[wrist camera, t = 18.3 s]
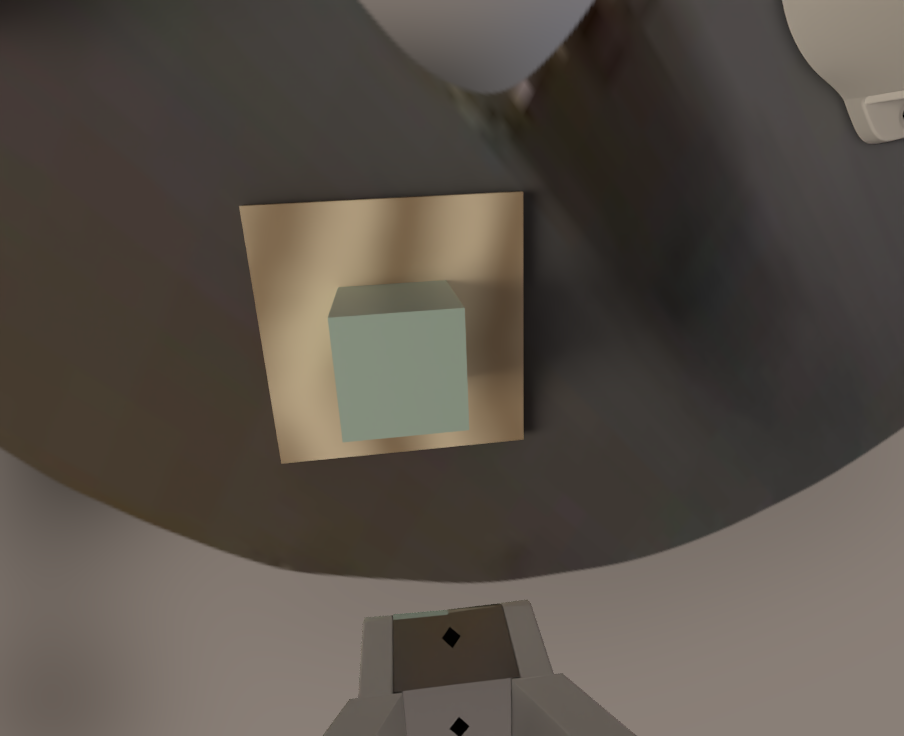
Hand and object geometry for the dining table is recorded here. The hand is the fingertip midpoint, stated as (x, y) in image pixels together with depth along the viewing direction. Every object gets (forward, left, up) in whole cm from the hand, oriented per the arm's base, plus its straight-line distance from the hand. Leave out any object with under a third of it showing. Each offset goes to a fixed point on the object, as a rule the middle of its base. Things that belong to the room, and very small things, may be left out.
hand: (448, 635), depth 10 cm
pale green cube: (0, 0, -21) cm, 21 cm away
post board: (0, 0, -22) cm, 22 cm away
